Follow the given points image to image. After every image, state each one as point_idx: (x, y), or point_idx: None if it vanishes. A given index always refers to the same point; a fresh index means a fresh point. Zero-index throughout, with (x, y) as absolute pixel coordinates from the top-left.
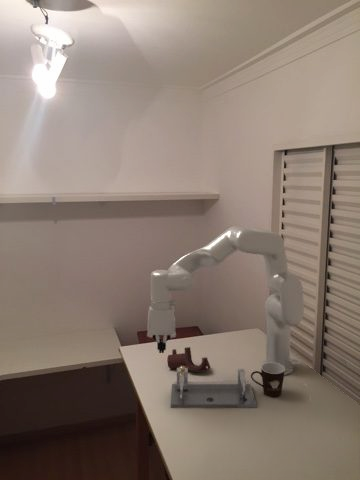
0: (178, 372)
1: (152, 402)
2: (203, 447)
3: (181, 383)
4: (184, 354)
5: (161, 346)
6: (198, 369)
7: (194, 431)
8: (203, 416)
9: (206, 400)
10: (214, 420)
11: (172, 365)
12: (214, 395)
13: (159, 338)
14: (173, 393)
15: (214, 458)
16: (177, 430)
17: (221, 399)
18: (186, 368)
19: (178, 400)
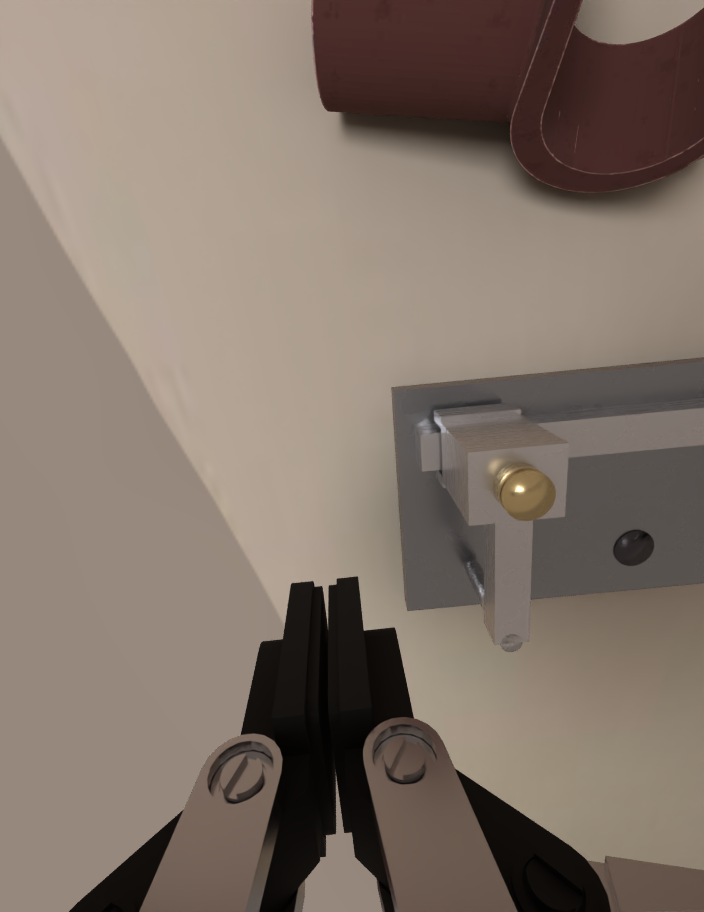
0: (483, 523)
1: (297, 565)
2: (556, 809)
3: (507, 646)
4: (524, 3)
5: (326, 679)
6: (611, 190)
7: (525, 739)
8: (573, 647)
9: (612, 558)
10: (622, 668)
11: (369, 113)
12: (667, 505)
13: (275, 858)
14: (414, 507)
15: (590, 847)
16: (452, 741)
17: (700, 540)
18: (558, 457)
19: (449, 571)
